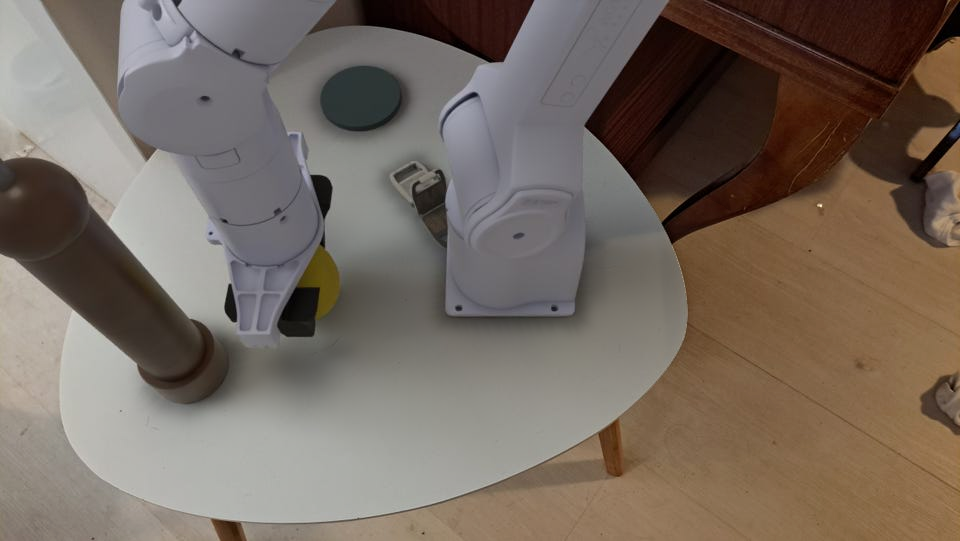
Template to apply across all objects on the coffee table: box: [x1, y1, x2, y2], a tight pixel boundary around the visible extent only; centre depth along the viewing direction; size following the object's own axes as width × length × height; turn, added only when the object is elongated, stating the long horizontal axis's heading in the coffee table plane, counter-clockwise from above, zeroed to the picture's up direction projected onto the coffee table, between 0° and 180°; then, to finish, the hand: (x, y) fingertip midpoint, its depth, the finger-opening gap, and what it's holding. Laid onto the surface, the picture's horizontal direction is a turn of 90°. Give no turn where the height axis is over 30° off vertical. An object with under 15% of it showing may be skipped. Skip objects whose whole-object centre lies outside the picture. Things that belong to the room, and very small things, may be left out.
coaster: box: [319, 65, 402, 132], centre depth 63 cm, size 7×7×1 cm
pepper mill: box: [0, 156, 229, 404], centre depth 41 cm, size 5×5×24 cm
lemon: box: [296, 244, 341, 321], centre depth 50 cm, size 6×6×8 cm
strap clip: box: [389, 160, 448, 250], centre depth 56 cm, size 8×3×4 cm, turn 35°
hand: (305, 293), depth 52 cm, fingers closed on lemon, 5 cm apart
